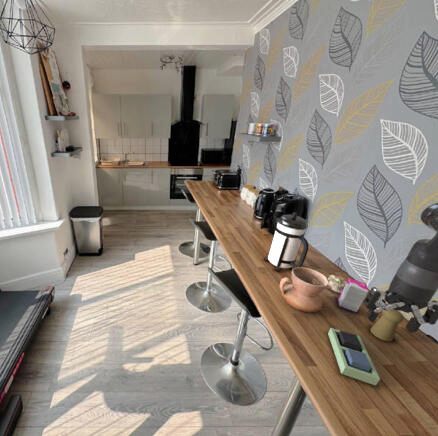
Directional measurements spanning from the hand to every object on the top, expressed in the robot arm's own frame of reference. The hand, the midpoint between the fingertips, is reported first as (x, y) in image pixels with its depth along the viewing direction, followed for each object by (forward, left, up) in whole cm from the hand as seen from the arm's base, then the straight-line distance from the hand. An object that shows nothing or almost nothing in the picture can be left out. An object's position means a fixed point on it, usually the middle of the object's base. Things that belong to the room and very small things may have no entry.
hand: (389, 325), depth 66 cm
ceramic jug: (+15, -23, -18) cm, 33 cm away
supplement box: (-4, -30, -18) cm, 36 cm away
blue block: (+3, +1, -18) cm, 18 cm away
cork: (-11, -18, -18) cm, 28 cm away
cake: (-3, -43, -18) cm, 47 cm away
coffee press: (+19, -50, -18) cm, 57 cm away
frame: (+3, -2, -18) cm, 19 cm away
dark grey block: (+3, -6, -18) cm, 19 cm away
